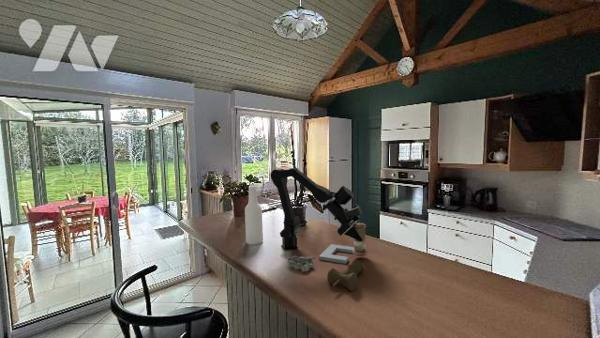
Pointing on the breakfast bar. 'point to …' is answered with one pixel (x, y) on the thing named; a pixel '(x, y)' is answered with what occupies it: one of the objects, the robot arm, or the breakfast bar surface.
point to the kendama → (346, 275)
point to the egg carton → (296, 262)
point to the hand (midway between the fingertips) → (362, 238)
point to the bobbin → (360, 245)
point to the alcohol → (253, 219)
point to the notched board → (330, 256)
